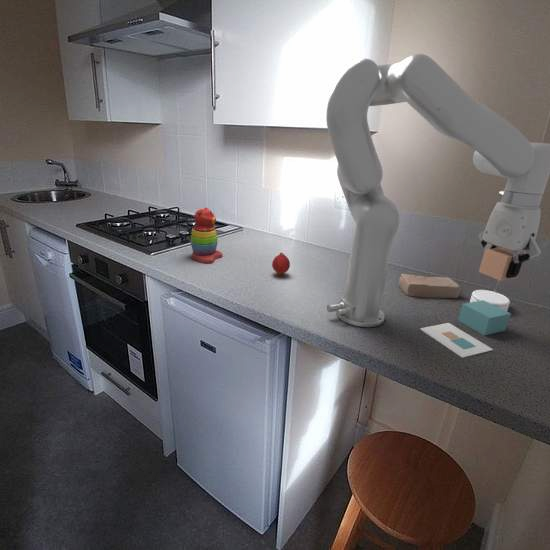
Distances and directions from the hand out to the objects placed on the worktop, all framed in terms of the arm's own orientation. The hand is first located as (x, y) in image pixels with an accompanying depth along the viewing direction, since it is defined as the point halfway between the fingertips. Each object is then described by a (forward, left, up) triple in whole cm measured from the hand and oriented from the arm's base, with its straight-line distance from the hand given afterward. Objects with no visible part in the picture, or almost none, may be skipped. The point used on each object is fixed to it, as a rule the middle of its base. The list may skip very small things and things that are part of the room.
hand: (498, 271), depth 90 cm
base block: (0, 0, -15) cm, 15 cm away
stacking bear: (-58, +68, -16) cm, 91 cm away
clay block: (0, 0, -1) cm, 1 cm away
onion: (-38, +46, -16) cm, 62 cm away
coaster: (+13, +8, -16) cm, 22 cm away
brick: (+2, +21, -16) cm, 27 cm away
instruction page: (-13, -3, -15) cm, 20 cm away
